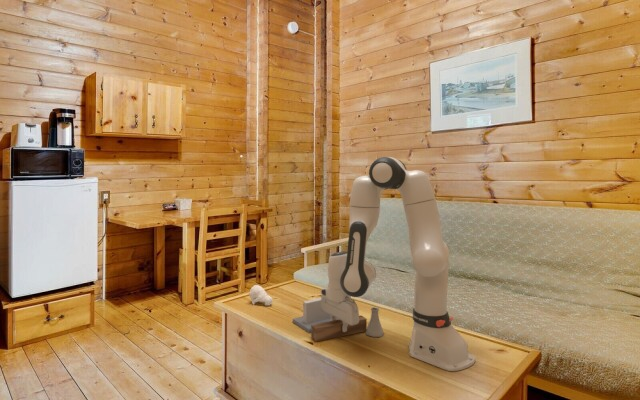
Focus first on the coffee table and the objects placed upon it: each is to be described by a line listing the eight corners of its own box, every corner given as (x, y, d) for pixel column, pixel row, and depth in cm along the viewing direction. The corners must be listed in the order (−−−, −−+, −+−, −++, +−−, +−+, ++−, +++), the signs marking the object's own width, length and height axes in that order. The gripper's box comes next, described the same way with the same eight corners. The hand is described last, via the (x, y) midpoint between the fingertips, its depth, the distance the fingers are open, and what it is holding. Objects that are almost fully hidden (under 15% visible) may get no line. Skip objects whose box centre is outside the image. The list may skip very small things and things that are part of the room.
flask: (363, 336, 147) (363, 310, 147) (367, 328, 154) (367, 304, 153) (382, 338, 145) (382, 313, 144) (385, 331, 152) (386, 306, 151)
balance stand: (345, 323, 160) (345, 299, 159) (309, 333, 150) (309, 308, 149) (327, 313, 171) (327, 291, 170) (292, 322, 161) (292, 299, 160)
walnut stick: (366, 331, 151) (366, 318, 151) (315, 341, 142) (315, 328, 142) (361, 327, 155) (361, 315, 155) (311, 337, 146) (311, 324, 146)
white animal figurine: (256, 282, 188) (276, 288, 182) (255, 299, 189) (275, 305, 183) (248, 286, 182) (268, 292, 177) (247, 303, 183) (267, 310, 178)
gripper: (363, 299, 141) (363, 336, 142) (330, 285, 158) (331, 318, 159) (349, 302, 137) (349, 340, 138) (318, 288, 154) (318, 322, 155)
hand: (339, 328), depth 149 cm, fingers closed on walnut stick, 4 cm apart
